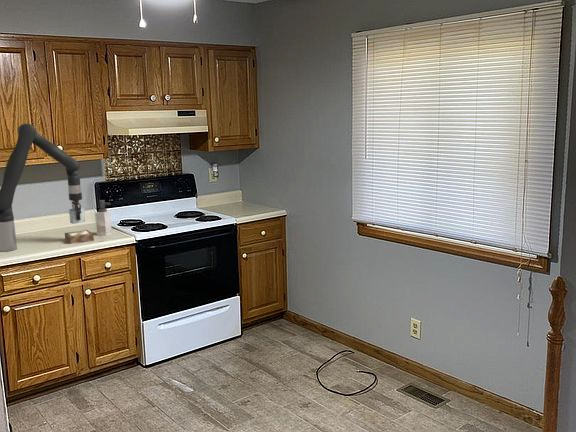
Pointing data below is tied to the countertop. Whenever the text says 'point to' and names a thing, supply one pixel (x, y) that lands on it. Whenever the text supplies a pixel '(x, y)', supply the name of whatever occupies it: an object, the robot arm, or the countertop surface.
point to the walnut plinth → (79, 236)
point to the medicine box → (73, 216)
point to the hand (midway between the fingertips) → (77, 219)
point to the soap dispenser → (103, 220)
